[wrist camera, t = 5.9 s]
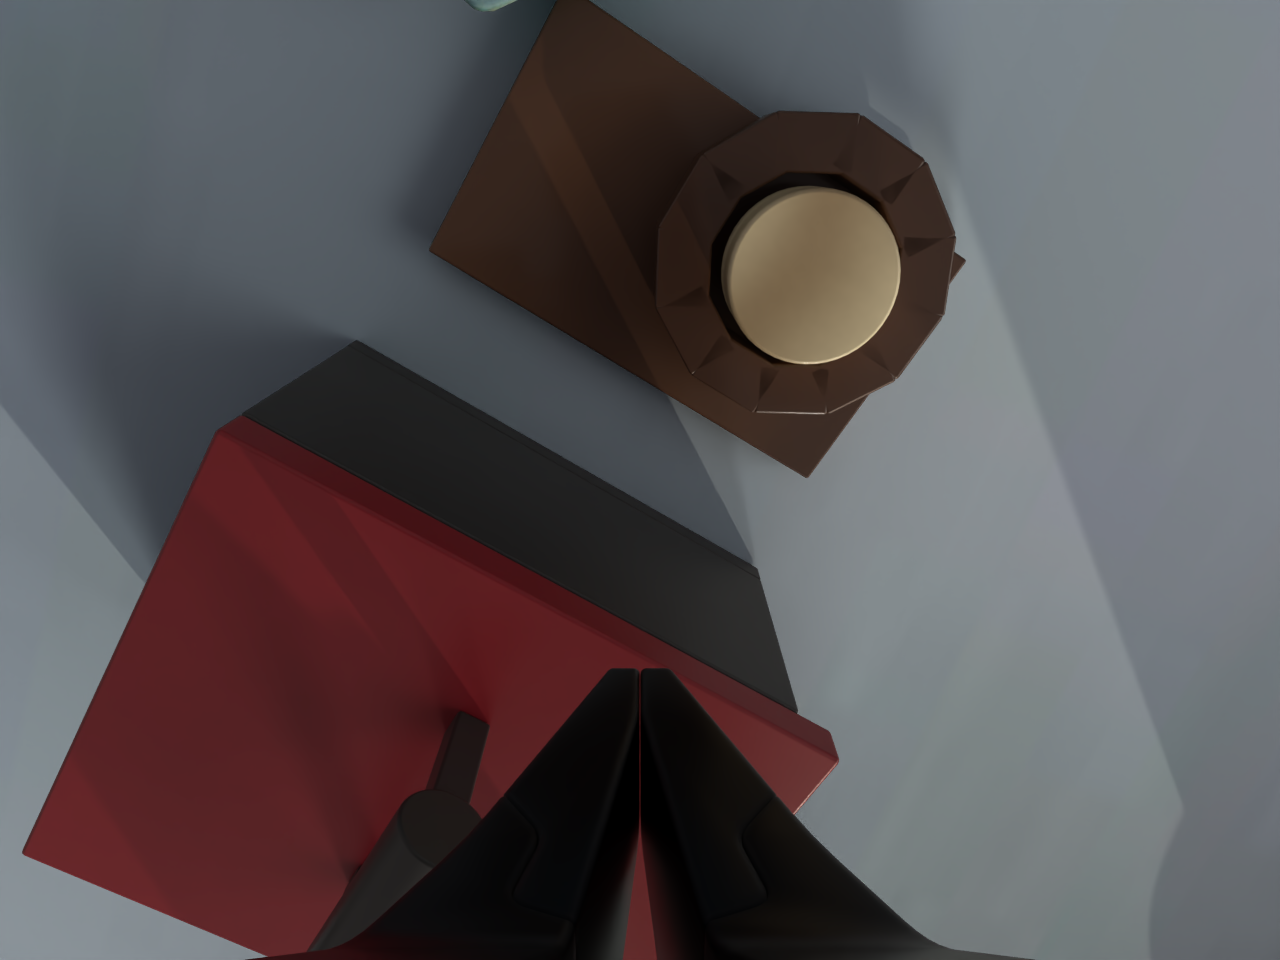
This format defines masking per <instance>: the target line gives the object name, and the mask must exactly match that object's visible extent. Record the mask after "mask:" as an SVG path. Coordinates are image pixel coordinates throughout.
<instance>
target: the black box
mask: <svg viewBox="0 0 1280 960" xmlns="http://www.w3.org/2000/svg"><path fill="white" fill-rule="evenodd" d="M241 416H245V417H246V418H248V419H250V420H252V421H254V422H256V423H258V424H259V425H261V426H263V427H265V428H267V429H269V430H271V431H272V432H274V433H276V434H278V435H280V436H282V437H284V438H285V439H287V440H289V441H291V442H293V443H295V444H297V445H298V446H300V447H302V448H304V449H306V450H308V451H310V452H311V453H313V454H315V455H317V456H319V457H321V458H323V459H324V460H326V461H328V462H330V463H332V464H334V465H336V466H337V467H339V468H341V469H343V470H345V471H347V472H349V473H350V474H352V475H354V476H356V477H358V478H360V479H362V480H363V481H365V482H367V483H369V484H371V485H373V486H375V487H376V488H378V489H380V490H382V491H384V492H386V493H388V494H389V495H391V496H393V497H395V498H397V499H399V500H401V501H402V502H404V503H406V504H408V505H410V506H412V507H414V508H415V509H417V510H419V511H421V512H423V513H425V514H427V515H428V516H430V517H432V518H434V519H436V520H438V521H440V522H442V523H443V524H445V525H447V526H449V527H451V528H453V529H455V530H456V531H458V532H460V533H462V534H464V535H466V536H468V537H469V538H471V539H473V540H475V541H477V542H479V543H481V544H482V545H484V546H486V547H488V548H490V549H492V550H494V551H495V552H497V553H499V554H501V555H503V556H505V557H507V558H508V559H510V560H512V561H514V562H516V563H518V564H520V565H521V566H523V567H525V568H527V569H529V570H531V571H533V572H534V573H536V574H538V575H540V576H542V577H544V578H546V579H547V580H549V581H551V582H553V583H555V584H557V585H559V586H560V587H562V588H564V589H566V590H568V591H570V592H572V593H573V594H575V595H577V596H579V597H581V598H583V599H585V600H586V601H588V602H590V603H592V604H594V605H596V606H598V607H599V608H601V609H603V610H605V611H607V612H609V613H611V614H612V615H614V616H616V617H618V618H620V619H622V620H624V621H625V622H627V623H629V624H631V625H633V626H635V627H637V628H638V629H640V630H642V631H644V632H646V633H648V634H650V635H651V636H653V637H655V638H657V639H659V640H661V641H663V642H664V643H666V644H668V645H670V646H672V647H674V648H676V649H677V650H679V651H681V652H683V653H685V654H687V655H689V656H690V657H692V658H694V659H696V660H698V661H700V662H702V663H703V664H705V665H707V666H709V667H711V668H713V669H715V670H716V671H718V672H720V673H722V674H724V675H726V676H728V677H729V678H731V679H733V680H735V681H737V682H739V683H741V684H742V685H744V686H746V687H748V688H750V689H752V690H754V691H755V692H757V693H759V694H761V695H763V696H765V697H767V698H768V699H770V700H772V701H774V702H776V703H778V704H780V705H781V706H783V707H785V708H787V709H789V710H791V711H793V712H794V713H796V714H797V712H798V709H797V705H796V702H795V698H794V695H793V691H792V688H791V685H790V681H789V678H788V674H787V671H786V667H785V664H784V660H783V657H782V653H781V650H780V646H779V643H778V639H777V636H776V632H775V629H774V625H773V622H772V618H771V615H770V612H769V608H768V605H767V601H766V598H765V594H764V591H763V587H762V584H761V581H760V576H759V573H758V569H757V568H755V567H754V566H752V565H750V564H748V563H747V562H745V561H743V560H741V559H740V558H738V557H736V556H734V555H733V554H731V553H729V552H727V551H726V550H724V549H722V548H720V547H719V546H717V545H715V544H713V543H712V542H710V541H708V540H706V539H705V538H703V537H701V536H699V535H698V534H696V533H694V532H692V531H691V530H689V529H687V528H685V527H684V526H682V525H680V524H678V523H677V522H675V521H673V520H671V519H670V518H668V517H666V516H664V515H663V514H661V513H659V512H657V511H656V510H654V509H652V508H650V507H649V506H647V505H645V504H643V503H642V502H640V501H638V500H636V499H635V498H633V497H631V496H629V495H628V494H626V493H624V492H622V491H621V490H619V489H617V488H615V487H614V486H612V485H610V484H608V483H607V482H605V481H603V480H601V479H600V478H598V477H596V476H594V475H593V474H591V473H589V472H587V471H586V470H584V469H582V468H580V467H578V466H577V465H575V464H573V463H571V462H570V461H568V460H566V459H564V458H563V457H561V456H559V455H557V454H556V453H554V452H552V451H550V450H549V449H547V448H545V447H543V446H542V445H540V444H538V443H536V442H535V441H533V440H531V439H529V438H528V437H526V436H524V435H522V434H521V433H519V432H517V431H515V430H514V429H512V428H510V427H508V426H507V425H505V424H503V423H501V422H500V421H498V420H496V419H494V418H493V417H491V416H489V415H487V414H486V413H484V412H482V411H480V410H479V409H477V408H475V407H473V406H472V405H470V404H468V403H466V402H465V401H463V400H461V399H459V398H458V397H456V396H454V395H452V394H451V393H449V392H447V391H445V390H444V389H442V388H440V387H438V386H437V385H435V384H433V383H431V382H430V381H428V380H426V379H424V378H423V377H421V376H419V375H417V374H416V373H414V372H412V371H410V370H409V369H407V368H405V367H403V366H402V365H400V364H398V363H396V362H394V361H393V360H391V359H389V358H387V357H386V356H384V355H382V354H380V353H379V352H377V351H375V350H373V349H372V348H370V347H368V346H366V345H365V344H363V343H361V342H359V341H357V340H356V341H354V342H353V343H351V344H350V345H348V346H347V347H345V348H344V349H342V350H341V351H339V352H338V353H336V354H334V355H333V356H331V357H330V358H328V359H327V360H325V361H323V362H322V363H320V364H319V365H317V366H316V367H314V368H312V369H311V370H309V371H308V372H306V373H305V374H303V375H302V376H300V377H298V378H297V379H295V380H294V381H292V382H291V383H289V384H287V385H286V386H284V387H283V388H281V389H280V390H278V391H276V392H275V393H273V394H272V395H270V396H269V397H267V398H265V399H264V400H262V401H261V402H259V403H258V404H256V405H255V406H253V407H251V408H250V409H248V410H247V411H245V412H244V413H242V415H241Z"/></svg>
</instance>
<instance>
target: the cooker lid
mask: <svg viewBox="0 0 1280 960" xmlns="http://www.w3.org/2000/svg"><path fill="white" fill-rule="evenodd" d="M611 668H635V669H637V670H638V671H639V673H641V671H642V670H643V669H645V668H669V669H671V670H672V671H673V672H674V674H675V675H676V676H677V677H678V678H679V680H680V681H681V682H682V683H683V684H684V685H685V687H686V688H687V689H688V690H689V691H690V693H691V694H692V695H693V696H694V697H695V698H696V700H697V701H698V702H699V703H700V704H701V706H702V707H703V708H704V709H705V710H706V712H707V713H708V714H709V715H710V716H711V717H712V719H713V720H714V721H715V722H716V723H717V725H718V726H719V727H720V728H721V729H722V730H723V732H724V733H725V734H726V735H727V736H728V738H729V739H730V740H731V741H732V742H733V744H734V745H735V746H736V747H737V748H738V749H739V751H740V752H741V753H742V754H743V755H744V757H745V758H746V759H747V760H748V761H749V763H750V764H751V765H752V766H753V767H754V768H755V770H756V771H757V772H758V773H759V774H760V776H761V777H762V778H763V779H764V780H765V781H766V783H767V784H768V785H769V786H770V787H771V789H772V790H773V791H774V792H775V793H776V795H777V797H779V798H780V799H781V800H782V801H783V803H784V804H785V805H786V806H787V807H788V808H789V810H790V811H791V812H792V813H793V814H794V815H795V814H796V812H797V811H798V810H799V809H800V808H801V807H802V805H803V804H804V803H805V802H806V801H807V799H808V798H809V797H810V796H811V795H812V794H813V792H814V791H815V790H816V789H817V788H818V786H819V785H820V784H821V783H822V782H823V781H824V779H825V778H826V777H827V776H828V775H829V774H830V772H831V771H832V770H833V769H834V768H835V766H836V765H837V764H838V762H839V757H838V754H837V751H836V748H835V745H834V742H833V739H832V736H831V733H830V732H829V731H828V730H826V729H824V728H822V727H820V726H819V725H817V724H815V723H813V722H811V721H809V720H807V719H806V718H804V717H802V716H800V715H798V714H796V713H794V712H793V711H791V710H789V709H787V708H785V707H783V706H781V705H780V704H778V703H776V702H774V701H772V700H770V699H768V698H767V697H765V696H763V695H761V694H759V693H757V692H755V691H754V690H752V689H750V688H748V687H746V686H744V685H742V684H741V683H739V682H737V681H735V680H733V679H731V678H729V677H728V676H726V675H724V674H722V673H720V672H718V671H716V670H715V669H713V668H711V667H709V666H707V665H705V664H703V663H702V662H700V661H698V660H696V659H694V658H692V657H690V656H689V655H687V654H685V653H683V652H681V651H679V650H677V649H676V648H674V647H672V646H670V645H668V644H666V643H664V642H663V641H661V640H659V639H657V638H655V637H653V636H651V635H650V634H648V633H646V632H644V631H642V630H640V629H638V628H637V627H635V626H633V625H631V624H629V623H627V622H625V621H624V620H622V619H620V618H618V617H616V616H614V615H612V614H611V613H609V612H607V611H605V610H603V609H601V608H599V607H598V606H596V605H594V604H592V603H590V602H588V601H586V600H585V599H583V598H581V597H579V596H577V595H575V594H573V593H572V592H570V591H568V590H566V589H564V588H562V587H560V586H559V585H557V584H555V583H553V582H551V581H549V580H547V579H546V578H544V577H542V576H540V575H538V574H536V573H534V572H533V571H531V570H529V569H527V568H525V567H523V566H521V565H520V564H518V563H516V562H514V561H512V560H510V559H508V558H507V557H505V556H503V555H501V554H499V553H497V552H495V551H494V550H492V549H490V548H488V547H486V546H484V545H482V544H481V543H479V542H477V541H475V540H473V539H471V538H469V537H468V536H466V535H464V534H462V533H460V532H458V531H456V530H455V529H453V528H451V527H449V526H447V525H445V524H443V523H442V522H440V521H438V520H436V519H434V518H432V517H430V516H428V515H427V514H425V513H423V512H421V511H419V510H417V509H415V508H414V507H412V506H410V505H408V504H406V503H404V502H402V501H401V500H399V499H397V498H395V497H393V496H391V495H389V494H388V493H386V492H384V491H382V490H380V489H378V488H376V487H375V486H373V485H371V484H369V483H367V482H365V481H363V480H362V479H360V478H358V477H356V476H354V475H352V474H350V473H349V472H347V471H345V470H343V469H341V468H339V467H337V466H336V465H334V464H332V463H330V462H328V461H326V460H324V459H323V458H321V457H319V456H317V455H315V454H313V453H311V452H310V451H308V450H306V449H304V448H302V447H300V446H298V445H297V444H295V443H293V442H291V441H289V440H287V439H285V438H284V437H282V436H280V435H278V434H276V433H274V432H272V431H271V430H269V429H267V428H265V427H263V426H261V425H259V424H258V423H256V422H254V421H252V420H250V419H248V418H246V417H245V416H238V417H237V418H235V419H234V420H232V421H231V422H229V423H227V424H226V425H224V426H223V427H221V428H220V429H218V430H217V431H216V432H215V434H214V436H213V439H212V441H211V443H210V445H209V447H208V449H207V452H206V454H205V456H204V458H203V460H202V462H201V465H200V467H199V469H198V471H197V473H196V475H195V478H194V480H193V482H192V484H191V486H190V488H189V491H188V493H187V495H186V497H185V499H184V501H183V504H182V506H181V508H180V510H179V512H178V514H177V517H176V519H175V521H174V523H173V525H172V527H171V530H170V532H169V534H168V536H167V538H166V540H165V543H164V545H163V547H162V549H161V551H160V553H159V556H158V558H157V560H156V562H155V564H154V566H153V569H152V571H151V573H150V575H149V577H148V579H147V582H146V584H145V586H144V588H143V590H142V592H141V595H140V597H139V599H138V601H137V603H136V605H135V608H134V610H133V612H132V614H131V616H130V618H129V621H128V623H127V625H126V627H125V629H124V631H123V634H122V636H121V638H120V640H119V642H118V644H117V647H116V649H115V651H114V653H113V655H112V657H111V660H110V662H109V664H108V666H107V668H106V670H105V673H104V675H103V677H102V679H101V681H100V683H99V686H98V688H97V690H96V692H95V694H94V696H93V699H92V701H91V703H90V705H89V707H88V709H87V712H86V714H85V716H84V718H83V720H82V722H81V725H80V727H79V729H78V731H77V733H76V735H75V738H74V740H73V742H72V744H71V746H70V748H69V751H68V753H67V755H66V757H65V759H64V761H63V764H62V766H61V768H60V770H59V772H58V774H57V777H56V779H55V781H54V783H53V785H52V787H51V790H50V792H49V794H48V796H47V798H46V800H45V803H44V805H43V807H42V809H41V811H40V813H39V816H38V818H37V820H36V822H35V824H34V826H33V829H32V831H31V833H30V835H29V837H28V839H27V842H26V844H25V846H24V848H23V851H22V854H24V855H25V856H27V857H30V858H32V859H35V860H37V861H39V862H42V863H44V864H47V865H49V866H51V867H54V868H56V869H59V870H61V871H63V872H66V873H68V874H71V875H73V876H75V877H78V878H80V879H83V880H85V881H87V882H90V883H92V884H95V885H97V886H99V887H102V888H104V889H107V890H109V891H111V892H114V893H116V894H119V895H121V896H123V897H126V898H128V899H131V900H133V901H135V902H138V903H140V904H143V905H145V906H147V907H150V908H152V909H155V910H157V911H159V912H162V913H164V914H167V915H169V916H171V917H174V918H176V919H179V920H181V921H183V922H186V923H188V924H191V925H193V926H196V927H198V928H200V929H203V930H205V931H208V932H210V933H212V934H215V935H217V936H220V937H222V938H224V939H227V940H229V941H232V942H234V943H236V944H239V945H241V946H244V947H246V948H248V949H251V950H253V951H256V952H258V953H260V954H263V955H265V956H268V957H271V956H279V955H287V954H295V953H303V952H311V951H319V950H326V949H330V948H333V947H336V946H339V945H341V944H343V943H345V942H347V941H349V940H351V939H353V938H354V937H355V936H357V935H358V934H360V933H361V932H363V931H364V930H365V929H366V928H368V927H369V926H370V925H371V924H372V923H374V922H375V921H376V920H377V919H378V918H379V917H380V916H381V915H382V914H384V913H385V912H386V911H387V910H388V909H389V908H390V907H391V906H392V905H393V904H395V903H396V902H397V901H398V900H399V899H400V898H401V897H402V896H403V895H404V894H405V893H407V892H408V891H409V890H410V889H411V888H412V887H413V886H414V885H415V884H416V883H418V882H419V881H420V880H421V879H422V878H423V877H424V876H425V875H426V874H427V873H428V872H430V871H431V870H432V869H433V868H434V867H435V866H436V865H437V864H438V863H439V862H441V861H442V860H443V859H444V858H445V857H446V856H447V855H448V854H449V853H450V852H451V851H452V850H453V849H454V848H455V847H456V846H457V845H458V844H459V843H460V842H461V841H462V840H463V839H464V838H465V837H466V836H467V835H468V834H469V833H470V832H471V831H472V830H473V829H474V828H475V826H476V825H477V824H478V823H479V822H480V821H481V820H482V819H483V818H484V816H485V815H486V814H487V813H488V812H489V811H490V810H491V808H492V807H493V806H494V805H495V804H496V803H497V801H498V800H499V799H500V798H501V797H503V795H504V793H505V792H506V791H507V790H508V789H509V787H510V786H511V785H512V784H513V783H514V782H515V780H516V779H517V778H518V777H519V776H520V774H521V773H522V772H523V771H524V770H525V769H526V767H527V766H528V765H529V764H530V763H531V761H532V760H533V759H534V758H535V757H536V755H537V754H538V753H539V752H540V751H541V750H542V748H543V747H544V746H545V745H546V744H547V742H548V741H549V740H550V739H551V738H552V736H553V735H554V734H555V733H556V732H557V731H558V729H559V728H560V727H561V726H562V725H563V723H564V722H565V721H566V720H567V719H568V717H569V716H570V715H571V714H572V713H573V712H574V710H575V709H576V708H577V707H578V706H579V704H580V703H581V702H582V701H583V700H584V698H585V697H586V696H587V695H588V694H589V693H590V691H591V690H592V689H593V688H594V687H595V685H596V684H597V683H598V682H599V681H600V680H601V678H602V677H603V676H604V675H605V674H606V672H607V671H608V670H609V669H611ZM623 960H657V954H656V947H655V940H654V932H653V925H652V917H651V910H650V902H649V895H648V887H647V880H646V872H645V865H644V858H643V850H642V840H641V824H639V840H638V850H637V858H636V865H635V872H634V880H633V887H632V895H631V902H630V910H629V917H628V925H627V932H626V939H625V947H624V954H623Z"/></svg>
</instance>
